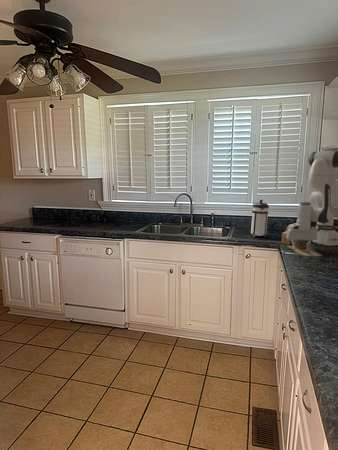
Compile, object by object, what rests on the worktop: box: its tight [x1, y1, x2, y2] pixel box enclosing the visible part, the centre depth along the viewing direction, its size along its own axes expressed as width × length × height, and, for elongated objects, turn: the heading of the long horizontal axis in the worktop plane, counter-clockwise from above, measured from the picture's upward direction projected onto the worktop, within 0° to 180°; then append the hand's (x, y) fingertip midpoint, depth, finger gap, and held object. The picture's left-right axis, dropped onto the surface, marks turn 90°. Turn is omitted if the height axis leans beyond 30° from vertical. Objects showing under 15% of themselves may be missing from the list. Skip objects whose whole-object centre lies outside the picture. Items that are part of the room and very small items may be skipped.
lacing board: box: [287, 242, 324, 259], centre depth 206 cm, size 14×24×8 cm, turn 1°
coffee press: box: [249, 199, 270, 239], centre depth 252 cm, size 17×16×30 cm
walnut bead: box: [294, 240, 308, 249], centre depth 213 cm, size 6×6×4 cm
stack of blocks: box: [280, 225, 299, 245], centre depth 231 cm, size 21×6×12 cm, turn 142°
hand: (300, 246), depth 212 cm, fingers open, 8 cm apart
